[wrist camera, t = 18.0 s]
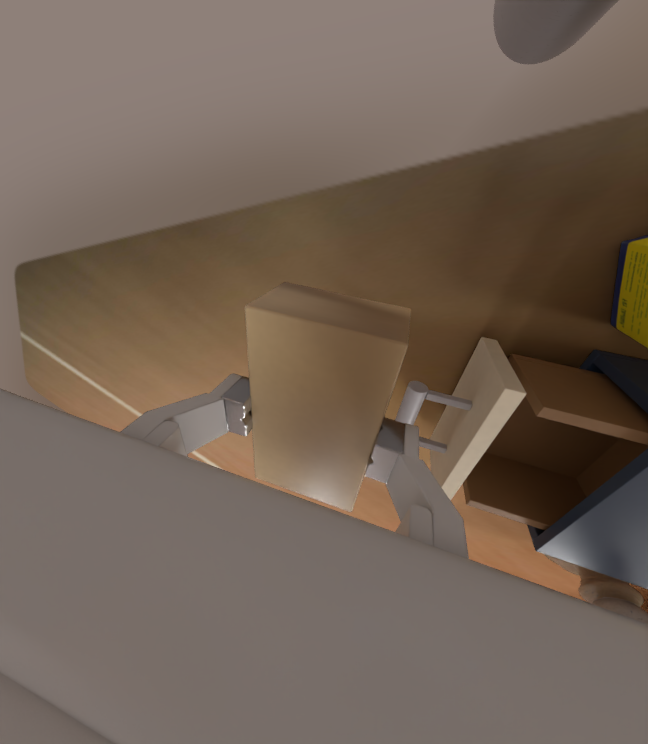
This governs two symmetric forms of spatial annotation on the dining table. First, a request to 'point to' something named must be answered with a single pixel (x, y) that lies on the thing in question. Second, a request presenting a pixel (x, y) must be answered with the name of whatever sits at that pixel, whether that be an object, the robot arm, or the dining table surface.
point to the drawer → (528, 434)
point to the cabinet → (609, 498)
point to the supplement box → (632, 290)
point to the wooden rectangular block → (320, 386)
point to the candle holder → (607, 591)
